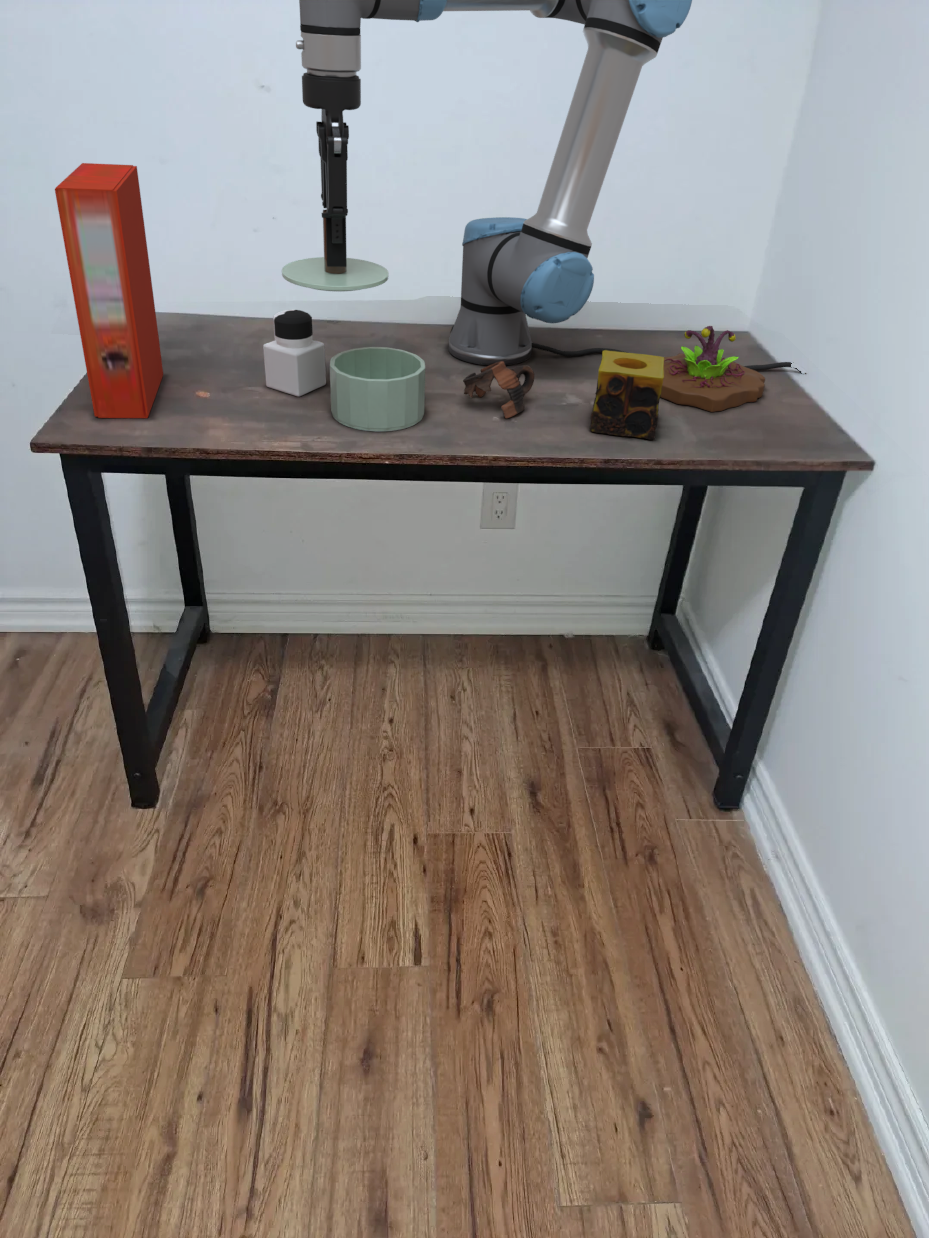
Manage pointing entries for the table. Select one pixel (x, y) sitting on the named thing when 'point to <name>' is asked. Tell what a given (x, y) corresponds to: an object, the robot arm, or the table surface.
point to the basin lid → (334, 273)
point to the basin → (377, 388)
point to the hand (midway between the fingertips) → (335, 262)
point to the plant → (709, 376)
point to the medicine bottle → (294, 355)
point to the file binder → (112, 287)
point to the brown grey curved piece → (502, 384)
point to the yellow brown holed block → (628, 394)
